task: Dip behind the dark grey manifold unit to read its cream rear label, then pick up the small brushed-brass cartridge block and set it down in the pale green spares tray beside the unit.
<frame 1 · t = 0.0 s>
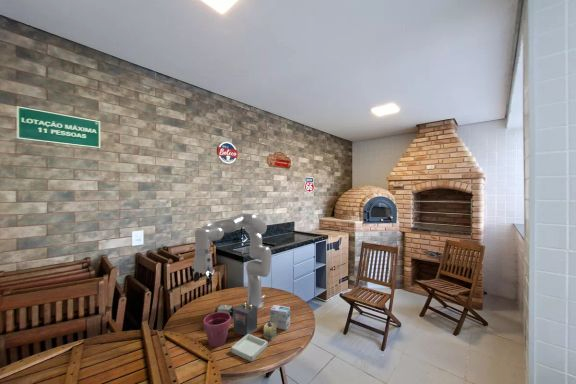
hand: (202, 282, 133), 31 cm above the table, fingers open, 9 cm apart
pneumatic valve: (225, 325, 148), on the table
plant pot: (217, 341, 132), on the table
spares tray: (249, 349, 125), on the table
manifold unit: (245, 329, 142), on the table
cartridge: (270, 336, 136), on the table
light bulb box: (280, 326, 147), on the table
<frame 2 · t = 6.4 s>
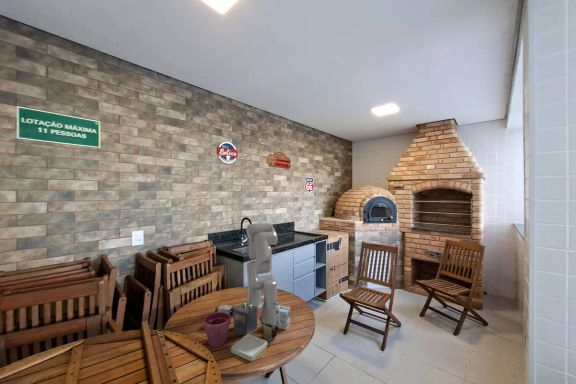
hand: (270, 334, 136), 1 cm above the table, fingers closed on cartridge, 5 cm apart
cartridge: (270, 336, 136), on the table, touching gripper
everything else where it was.
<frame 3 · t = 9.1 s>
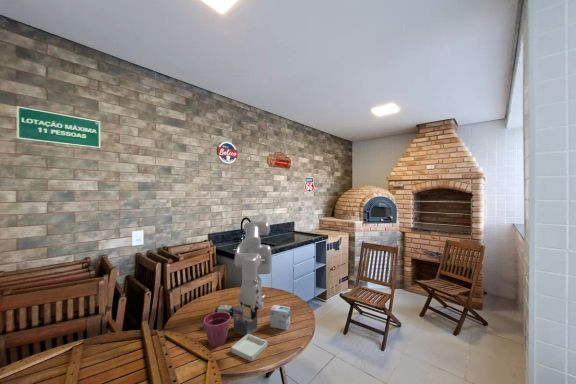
hand: (249, 316, 125), 17 cm above the table, fingers closed on cartridge, 5 cm apart
cartridge: (249, 318, 125), point 16 cm above the table, touching gripper
everything else where it was.
when the fingers open (3 cm above the table, at t = 11.9 s): cartridge drops 1 cm, resting on spares tray.
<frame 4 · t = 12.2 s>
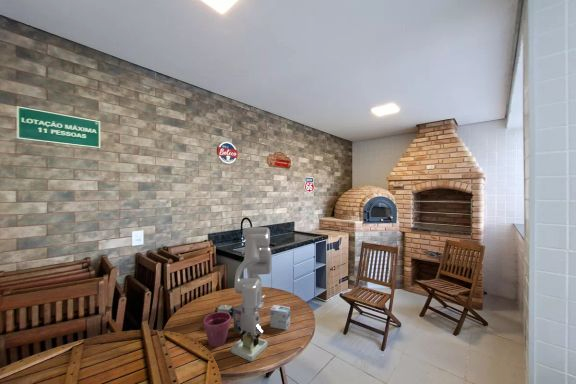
hand: (249, 342, 125), 3 cm above the table, fingers open, 7 cm apart
cartridge: (249, 347, 125), point 1 cm above the table, touching spares tray
everything else where it was.
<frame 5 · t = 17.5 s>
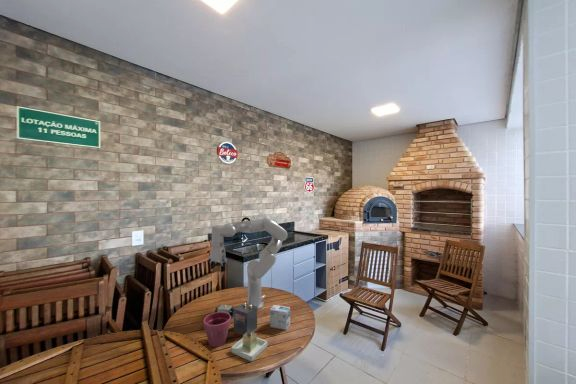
hand: (217, 270, 162), 28 cm above the table, fingers open, 9 cm apart
nothing on the table moved.
at the end: cartridge inside the target area on the spares tray (0.1 cm from its centre), point 0.6 cm above the spares tray's base; cartridge tilted 0°; the gripper is holding nothing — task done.
